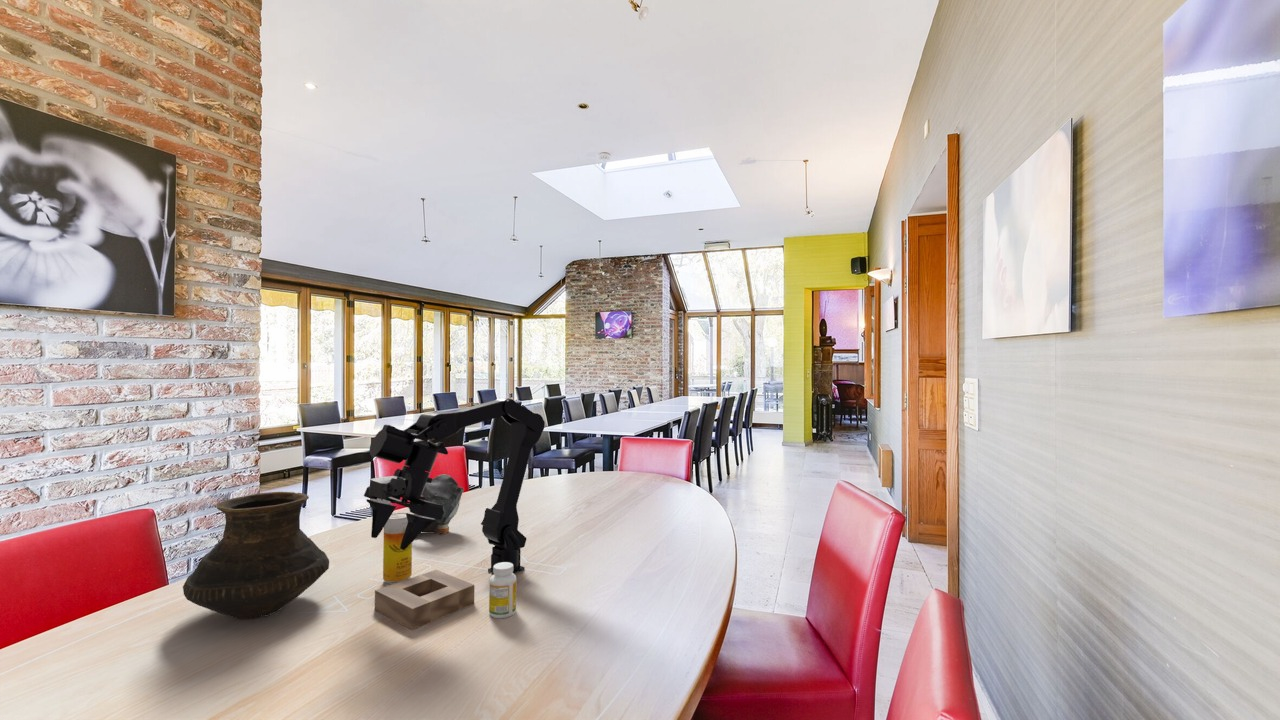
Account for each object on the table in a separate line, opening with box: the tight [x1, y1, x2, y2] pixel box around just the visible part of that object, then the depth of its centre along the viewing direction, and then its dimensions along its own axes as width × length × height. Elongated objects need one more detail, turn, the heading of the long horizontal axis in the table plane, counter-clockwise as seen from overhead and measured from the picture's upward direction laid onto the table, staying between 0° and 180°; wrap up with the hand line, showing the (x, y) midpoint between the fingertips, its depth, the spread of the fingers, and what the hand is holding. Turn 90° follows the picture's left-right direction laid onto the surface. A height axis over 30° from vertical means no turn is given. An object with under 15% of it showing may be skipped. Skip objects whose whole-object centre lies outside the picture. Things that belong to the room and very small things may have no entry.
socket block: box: [374, 569, 475, 631], centre depth 111 cm, size 14×14×4 cm
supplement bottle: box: [488, 562, 517, 619], centre depth 108 cm, size 5×5×10 cm
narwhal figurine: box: [422, 473, 465, 534], centre depth 159 cm, size 14×15×18 cm
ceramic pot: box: [182, 491, 330, 620], centre depth 109 cm, size 24×24×22 cm
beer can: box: [382, 512, 413, 585], centre depth 125 cm, size 6×6×15 cm
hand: (387, 543), depth 109 cm, fingers open, 9 cm apart
